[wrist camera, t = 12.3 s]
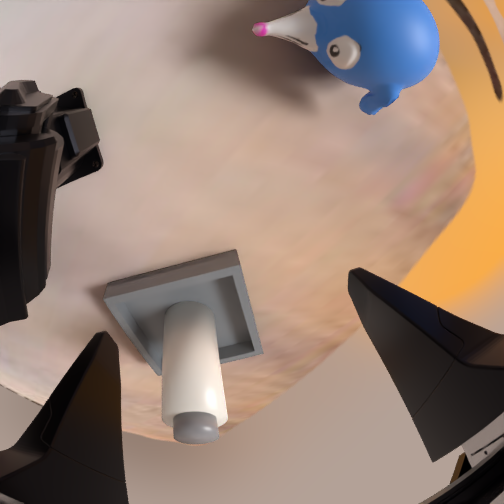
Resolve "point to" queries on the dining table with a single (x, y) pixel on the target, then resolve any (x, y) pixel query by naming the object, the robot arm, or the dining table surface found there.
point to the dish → (187, 289)
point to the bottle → (192, 374)
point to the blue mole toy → (365, 43)
